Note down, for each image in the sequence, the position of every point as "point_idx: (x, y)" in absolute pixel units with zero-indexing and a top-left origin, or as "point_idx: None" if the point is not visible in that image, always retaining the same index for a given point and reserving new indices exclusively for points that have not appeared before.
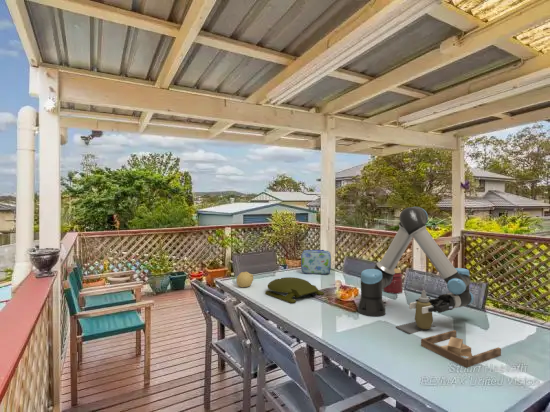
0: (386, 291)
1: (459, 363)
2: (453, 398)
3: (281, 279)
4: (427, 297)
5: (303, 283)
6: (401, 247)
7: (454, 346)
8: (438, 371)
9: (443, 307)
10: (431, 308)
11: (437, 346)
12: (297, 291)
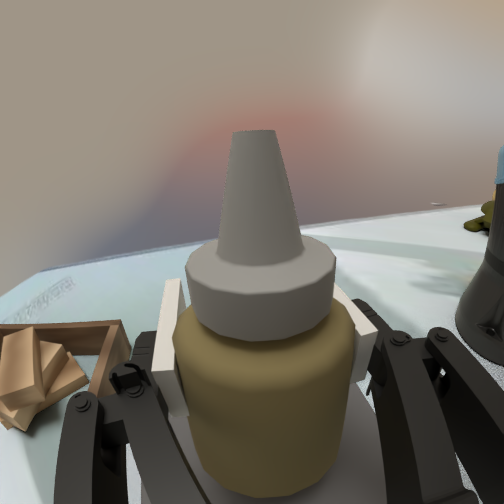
0: None
1: None
2: (27, 287)
3: None
4: (250, 281)
5: None
6: None
7: (16, 334)
8: (54, 311)
9: (62, 469)
10: (141, 349)
11: (62, 324)
12: (487, 212)
